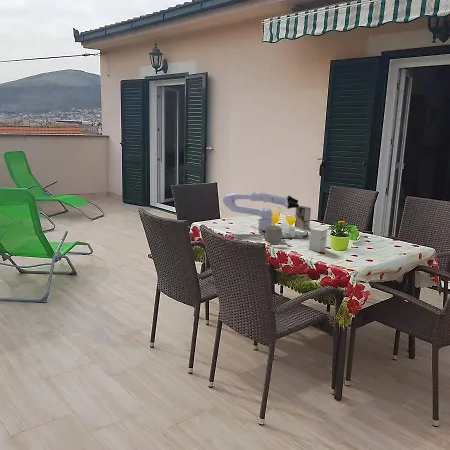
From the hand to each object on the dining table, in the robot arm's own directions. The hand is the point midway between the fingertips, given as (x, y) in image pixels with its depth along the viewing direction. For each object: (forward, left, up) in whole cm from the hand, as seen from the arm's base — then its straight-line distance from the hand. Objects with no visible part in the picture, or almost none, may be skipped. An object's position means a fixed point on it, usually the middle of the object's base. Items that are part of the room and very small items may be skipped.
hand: (298, 203), depth 310 cm
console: (-6, -11, -20) cm, 24 cm away
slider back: (-5, -4, -19) cm, 20 cm away
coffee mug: (-17, -28, -20) cm, 39 cm away
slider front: (-5, -18, -19) cm, 26 cm away
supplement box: (+7, -41, -20) cm, 47 cm away
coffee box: (+6, +13, -20) cm, 25 cm away
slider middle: (-5, -11, -19) cm, 22 cm away
